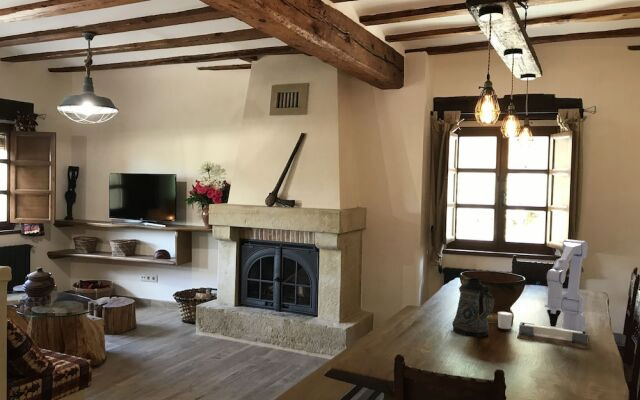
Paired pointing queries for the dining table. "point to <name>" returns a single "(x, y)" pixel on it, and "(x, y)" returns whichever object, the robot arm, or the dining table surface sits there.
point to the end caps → (576, 337)
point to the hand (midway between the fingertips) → (553, 326)
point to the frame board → (553, 340)
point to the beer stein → (473, 309)
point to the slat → (553, 331)
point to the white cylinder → (504, 320)
